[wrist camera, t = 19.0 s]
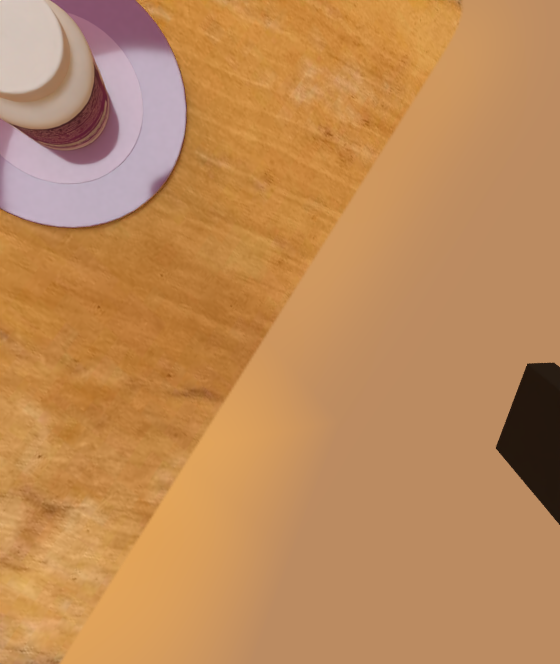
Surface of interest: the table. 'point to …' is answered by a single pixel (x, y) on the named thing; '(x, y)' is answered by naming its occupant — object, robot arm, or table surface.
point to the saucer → (118, 134)
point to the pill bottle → (49, 76)
